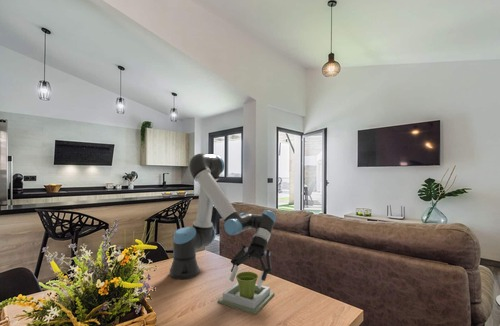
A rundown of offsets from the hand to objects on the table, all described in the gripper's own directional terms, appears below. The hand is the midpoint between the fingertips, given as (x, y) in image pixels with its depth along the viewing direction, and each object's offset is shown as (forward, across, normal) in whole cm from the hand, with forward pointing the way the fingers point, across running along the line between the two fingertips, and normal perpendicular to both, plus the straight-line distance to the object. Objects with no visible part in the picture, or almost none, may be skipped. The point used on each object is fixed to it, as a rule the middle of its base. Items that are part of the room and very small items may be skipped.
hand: (244, 283), depth 110 cm
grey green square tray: (+3, 0, -7) cm, 8 cm away
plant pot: (+3, 0, -6) cm, 7 cm away
